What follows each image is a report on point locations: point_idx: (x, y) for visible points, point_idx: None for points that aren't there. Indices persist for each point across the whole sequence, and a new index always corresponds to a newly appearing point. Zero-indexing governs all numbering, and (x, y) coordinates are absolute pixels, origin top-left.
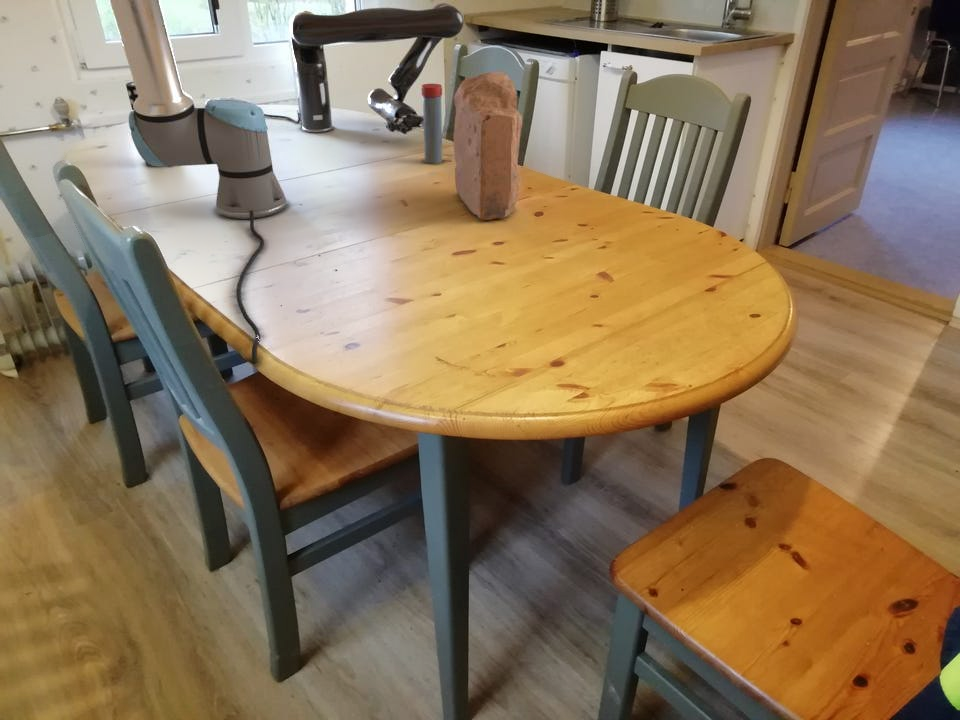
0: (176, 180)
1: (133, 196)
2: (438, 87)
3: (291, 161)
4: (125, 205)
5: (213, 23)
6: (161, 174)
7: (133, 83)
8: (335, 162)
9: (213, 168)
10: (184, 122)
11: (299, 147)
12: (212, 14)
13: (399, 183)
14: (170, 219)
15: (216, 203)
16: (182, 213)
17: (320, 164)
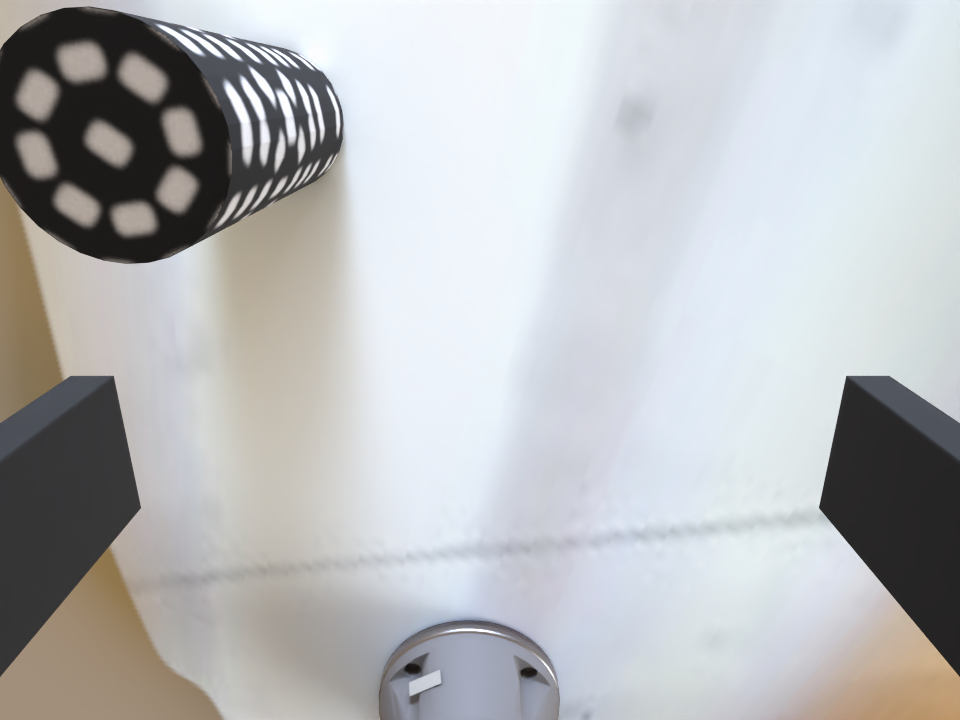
0: (308, 382)
1: (170, 472)
2: None
3: (738, 359)
4: (150, 534)
5: (843, 415)
6: (263, 288)
7: (35, 109)
8: None
9: (453, 307)
10: None
11: (864, 182)
12: (905, 515)
13: (894, 694)
14: (264, 672)
15: (379, 698)
16: (296, 650)
17: (807, 441)
